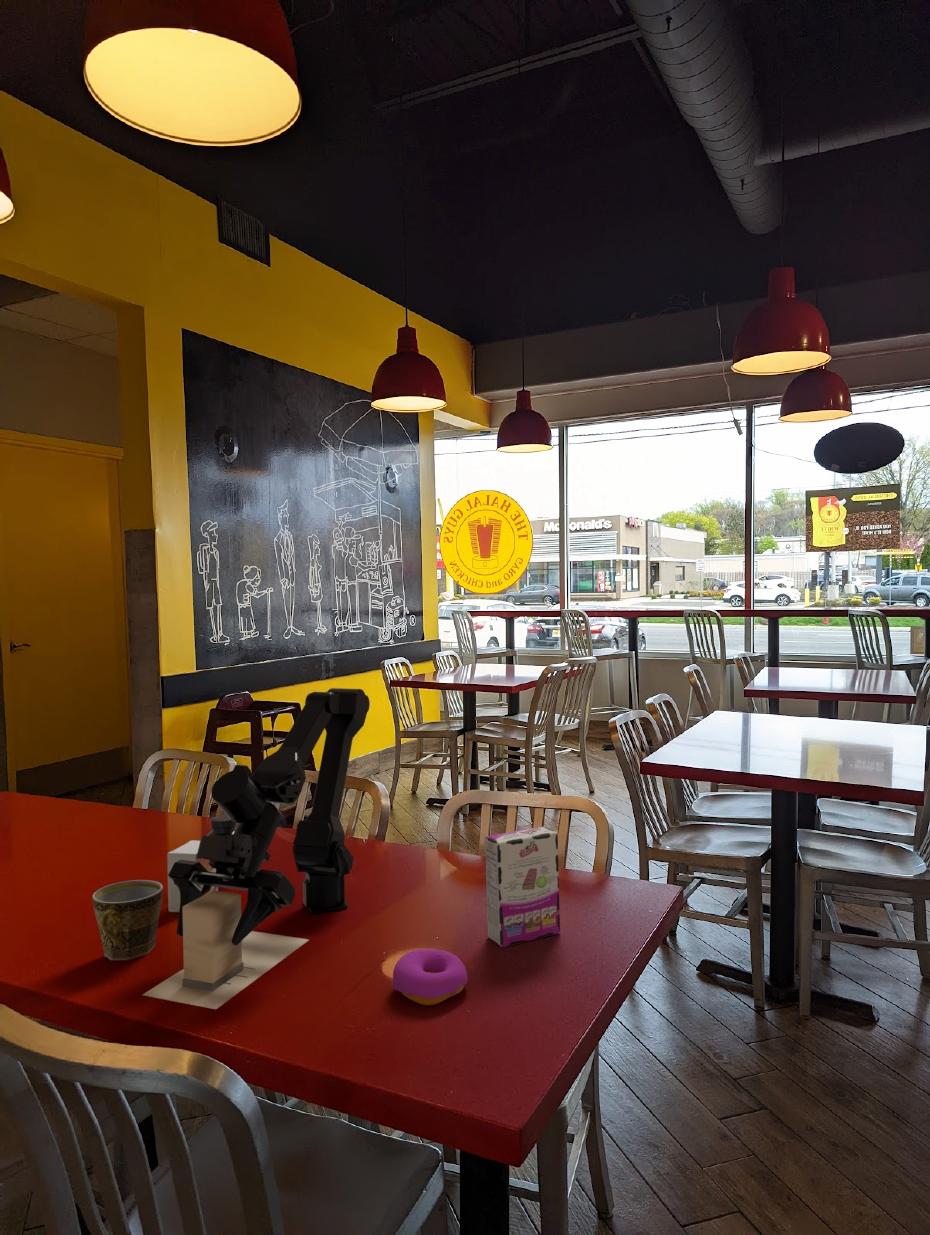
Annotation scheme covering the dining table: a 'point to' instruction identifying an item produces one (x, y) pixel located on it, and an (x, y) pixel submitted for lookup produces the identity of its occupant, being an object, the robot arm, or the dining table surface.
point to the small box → (189, 854)
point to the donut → (429, 976)
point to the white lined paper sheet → (256, 960)
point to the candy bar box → (522, 885)
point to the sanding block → (211, 940)
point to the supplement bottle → (222, 826)
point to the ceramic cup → (128, 917)
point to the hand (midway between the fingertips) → (206, 939)
